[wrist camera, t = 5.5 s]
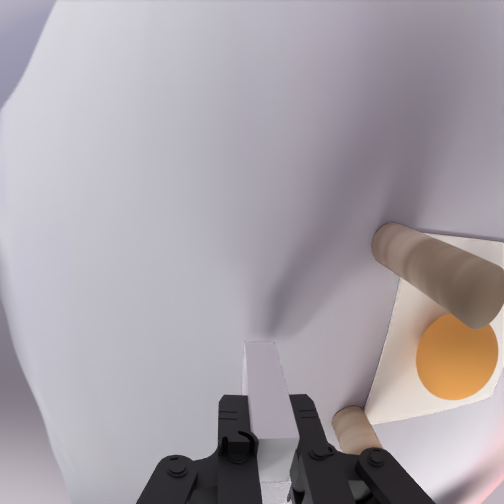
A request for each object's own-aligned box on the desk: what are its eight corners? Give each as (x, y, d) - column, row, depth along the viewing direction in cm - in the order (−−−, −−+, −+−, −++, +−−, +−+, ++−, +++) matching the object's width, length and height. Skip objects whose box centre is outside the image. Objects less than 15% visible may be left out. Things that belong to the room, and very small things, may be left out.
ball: (482, 391, 16) (462, 430, 13) (422, 361, 20) (388, 390, 17) (515, 320, 15) (507, 346, 11) (447, 292, 19) (420, 307, 15)
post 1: (359, 428, 20) (397, 511, 12) (328, 431, 20) (360, 520, 12) (368, 404, 20) (413, 489, 12) (335, 407, 19) (374, 500, 12)
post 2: (405, 266, 17) (496, 326, 9) (368, 264, 17) (454, 331, 9) (412, 224, 16) (513, 265, 9) (375, 220, 16) (472, 263, 9)
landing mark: (488, 396, 21) (490, 397, 21) (358, 424, 20) (358, 426, 20) (539, 247, 18) (540, 247, 18) (408, 231, 17) (409, 231, 16)
